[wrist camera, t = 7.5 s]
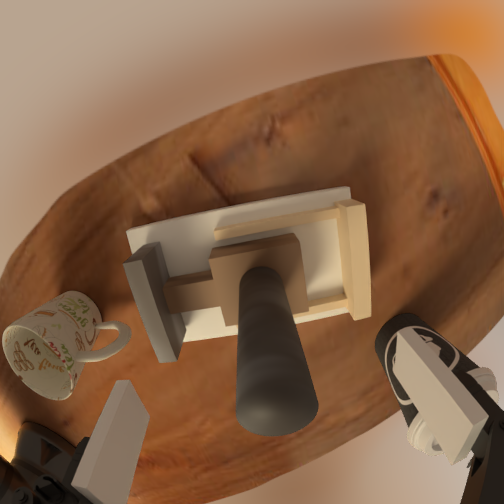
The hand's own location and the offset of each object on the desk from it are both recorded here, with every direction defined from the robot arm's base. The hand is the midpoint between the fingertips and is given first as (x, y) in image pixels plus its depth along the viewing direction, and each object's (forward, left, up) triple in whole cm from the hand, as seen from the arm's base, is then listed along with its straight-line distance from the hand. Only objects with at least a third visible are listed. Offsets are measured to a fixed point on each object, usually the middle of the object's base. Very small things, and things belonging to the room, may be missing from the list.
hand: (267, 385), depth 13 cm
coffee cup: (+15, -12, -16) cm, 25 cm away
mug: (-18, -2, -16) cm, 24 cm away
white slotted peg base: (-1, 0, -16) cm, 16 cm away
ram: (-3, 0, -14) cm, 14 cm away
